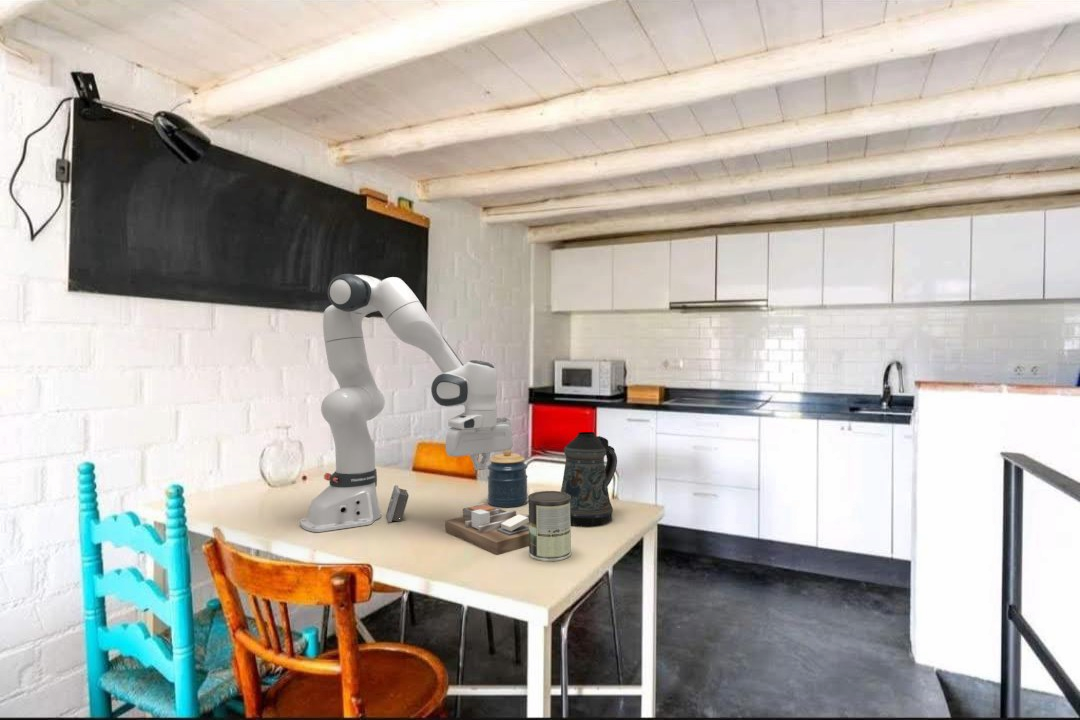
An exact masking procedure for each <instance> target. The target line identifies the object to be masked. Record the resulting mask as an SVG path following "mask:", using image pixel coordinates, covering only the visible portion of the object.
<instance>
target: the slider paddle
mask: <svg viewBox="0 0 1080 720" xmlns="http://www.w3.org/2000/svg"><path fill="white" fill-rule="evenodd" d="M471 518H472V527H474V528H477V529H478V526H481V525H486V524H490V512H488V511H485V510H482V509H479V510H474V511H471Z"/></svg>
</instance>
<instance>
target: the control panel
mask: <svg viewBox="0 0 1080 720" xmlns="http://www.w3.org/2000/svg"><path fill="white" fill-rule="evenodd" d="M480 505H486V506H489V507H492V508H494V510H491V511H488V512H490V524H486V525H481V526H478V529H477V528H474V527H472V518H471V511H472V510H469V508H471V507H476V506H480ZM516 515H517V510H514V509H513V510H509V511H507V510H503V509H502V508H500V507H496V506H492V505H490V504H488V503H483V504H478V505H473V506H469V507H464V508H462V516H460V517H455V518H452V519H448V520H445V521H444V523H445V524H444V526H445V527H444V528H445V529H444V532H445V531H446V532H445V533H447V532H448V533H447V534H449V533H450V535H452V536H454V537H456V538H458V537H459V538H458V539H460V538H461V540H462V541H465V542H468V543H469V542H470V543H469V544H472V545H474V546H477V547H478V548H481V549H483V550H486V551H488V552H490V553H492V554H495V555H496V556H498V555H500V554H504V553H508V552H511V551H514V550H519V549H522V548H525V547H529V522H528V523H526V524H524V525H522V526H520V527H518V528H517V529H515V530H513V531H509V530H506V529H503V528H501V523H503V522H504V521H506V520H508V519H510V518H512V517H514V516H516ZM522 516H525V517H528V519H529V514H524V515H522Z"/></svg>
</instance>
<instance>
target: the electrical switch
mask: <svg viewBox="0 0 1080 720" xmlns="http://www.w3.org/2000/svg"><path fill="white" fill-rule="evenodd" d="M408 500H409V493H408V490H407V489H403V488H399V485H396V484H395V485H394V486H393V490H392V493H391V496H390V499H389V503H388V507H387V510H386V517H387V519H386V520H387V522H388V523H391V524H392V522H393V521H394V522H403V517H404V515H405V511H406V507H407V504H408V503H407V502H408ZM399 518H400V519H399Z"/></svg>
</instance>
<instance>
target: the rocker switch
mask: <svg viewBox="0 0 1080 720" xmlns="http://www.w3.org/2000/svg"><path fill="white" fill-rule="evenodd" d="M528 522H529V519H528V517H525V516H523V515H522V514H519V513H518V514H516V516H514V517H512V518H510V519H508V520H506V521H504V522H503V523H501V528H503V529H506V530H509V531H513V530H515V529H517V528H518V527H520V526H522V525H524V524H526V523H528Z"/></svg>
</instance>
